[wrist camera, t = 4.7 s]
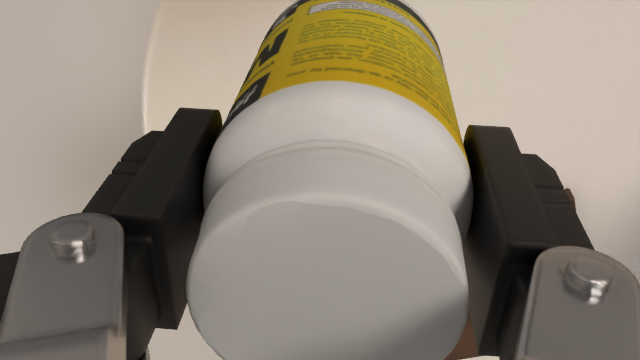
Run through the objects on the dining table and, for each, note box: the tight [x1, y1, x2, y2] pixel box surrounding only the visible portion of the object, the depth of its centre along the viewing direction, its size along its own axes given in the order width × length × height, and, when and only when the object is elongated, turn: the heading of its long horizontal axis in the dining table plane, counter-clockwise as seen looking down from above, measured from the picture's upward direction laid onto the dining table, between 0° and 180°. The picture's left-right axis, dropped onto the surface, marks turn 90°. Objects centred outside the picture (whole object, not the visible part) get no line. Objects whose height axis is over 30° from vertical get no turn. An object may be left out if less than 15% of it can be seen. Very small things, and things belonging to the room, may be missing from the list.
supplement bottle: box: [186, 0, 473, 360], centre depth 11 cm, size 5×5×8 cm
